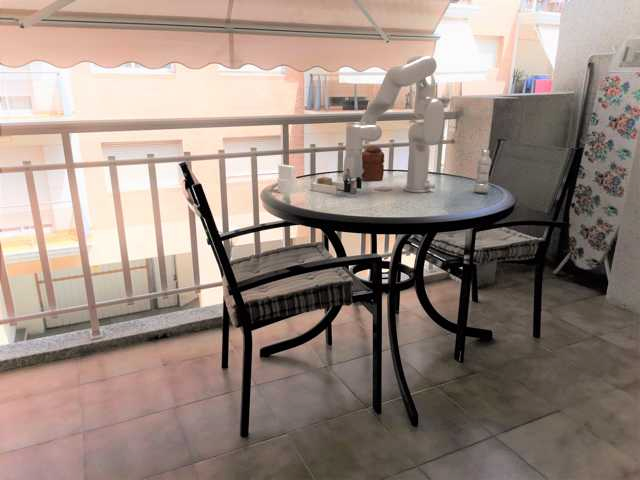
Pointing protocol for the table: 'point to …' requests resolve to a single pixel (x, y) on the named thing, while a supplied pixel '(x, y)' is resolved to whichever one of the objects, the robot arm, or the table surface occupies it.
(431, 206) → the table surface
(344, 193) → the mat
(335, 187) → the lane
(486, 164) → the plastic bottle
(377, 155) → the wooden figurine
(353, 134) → the robot arm
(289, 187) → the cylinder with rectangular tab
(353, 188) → the rod with block end
